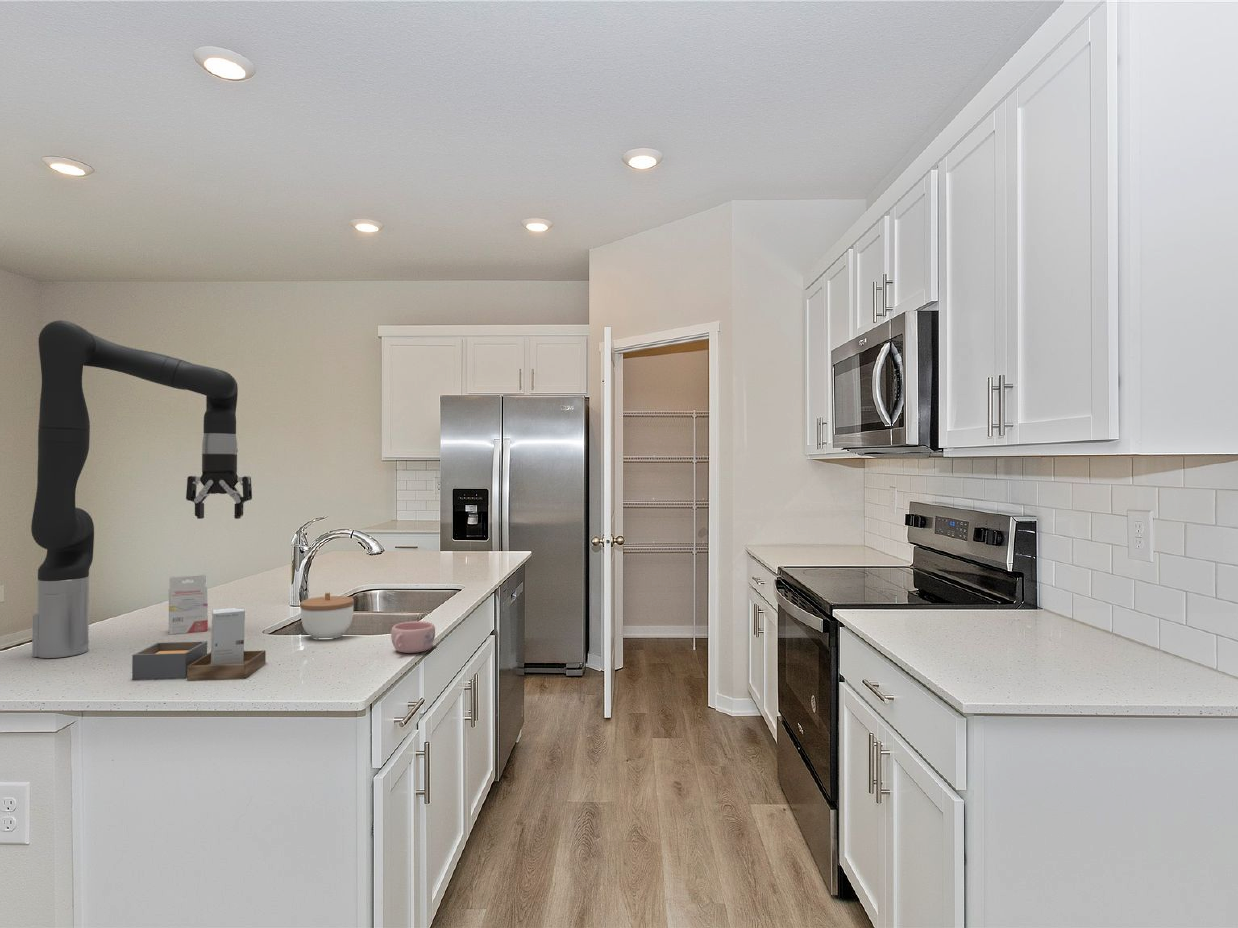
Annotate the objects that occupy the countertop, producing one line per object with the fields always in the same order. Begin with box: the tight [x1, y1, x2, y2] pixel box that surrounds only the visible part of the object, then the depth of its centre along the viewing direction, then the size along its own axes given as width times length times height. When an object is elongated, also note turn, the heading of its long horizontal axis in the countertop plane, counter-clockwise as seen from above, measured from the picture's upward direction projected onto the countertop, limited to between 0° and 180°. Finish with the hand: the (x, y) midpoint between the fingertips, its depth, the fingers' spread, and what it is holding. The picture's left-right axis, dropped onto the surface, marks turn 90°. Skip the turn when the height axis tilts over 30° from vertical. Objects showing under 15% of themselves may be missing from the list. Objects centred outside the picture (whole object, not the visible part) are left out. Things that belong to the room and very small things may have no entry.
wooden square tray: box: [186, 649, 267, 681], centre depth 149 cm, size 11×11×3 cm
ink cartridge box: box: [168, 574, 209, 635], centre depth 184 cm, size 9×5×15 cm, turn 118°
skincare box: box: [210, 607, 246, 665], centre depth 149 cm, size 6×4×12 cm
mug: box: [390, 620, 436, 654], centre depth 166 cm, size 12×10×6 cm
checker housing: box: [131, 640, 208, 681], centre depth 148 cm, size 10×10×5 cm
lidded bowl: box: [299, 592, 355, 641], centre depth 179 cm, size 13×13×11 cm
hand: (219, 518), depth 174 cm, fingers open, 8 cm apart
